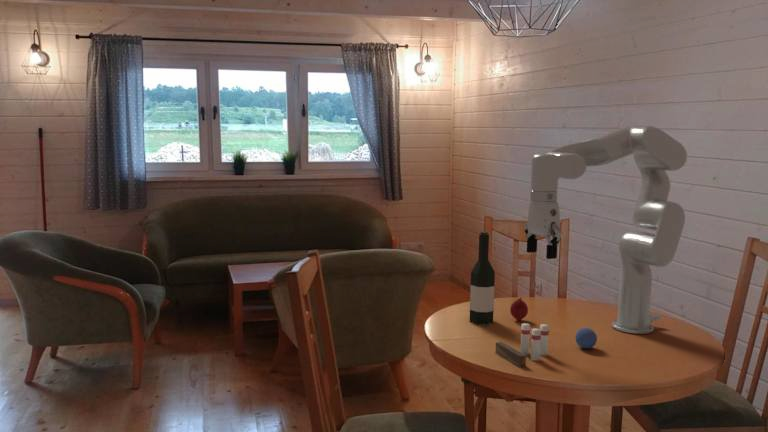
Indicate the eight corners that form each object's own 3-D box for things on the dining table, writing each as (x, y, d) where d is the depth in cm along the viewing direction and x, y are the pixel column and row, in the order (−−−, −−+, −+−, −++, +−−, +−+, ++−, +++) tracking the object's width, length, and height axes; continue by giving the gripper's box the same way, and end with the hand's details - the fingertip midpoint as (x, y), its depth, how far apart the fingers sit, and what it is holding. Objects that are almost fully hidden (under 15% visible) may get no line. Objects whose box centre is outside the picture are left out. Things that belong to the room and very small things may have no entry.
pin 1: (525, 351, 187) (527, 322, 186) (530, 354, 184) (532, 325, 183) (518, 352, 186) (519, 323, 185) (523, 355, 184) (524, 326, 182)
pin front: (544, 352, 186) (545, 323, 185) (549, 355, 184) (550, 326, 183) (536, 353, 185) (538, 324, 184) (542, 356, 183) (543, 327, 182)
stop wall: (501, 351, 186) (501, 341, 186) (525, 366, 175) (526, 355, 175) (495, 352, 186) (495, 342, 185) (519, 367, 175) (519, 356, 174)
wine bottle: (474, 325, 211) (477, 234, 207) (465, 318, 219) (467, 230, 215) (498, 323, 213) (501, 233, 209) (488, 316, 221) (491, 229, 217)
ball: (587, 343, 194) (588, 324, 193) (600, 350, 189) (601, 330, 188) (570, 346, 192) (571, 326, 191) (584, 352, 186) (585, 332, 186)
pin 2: (536, 357, 182) (537, 328, 181) (541, 360, 180) (542, 330, 179) (528, 358, 181) (529, 329, 180) (533, 361, 179) (535, 331, 178)
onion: (527, 323, 213) (528, 300, 212) (509, 322, 214) (510, 299, 213) (527, 318, 219) (528, 295, 218) (510, 317, 220) (510, 294, 219)
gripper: (573, 199, 180) (570, 260, 183) (537, 193, 196) (534, 249, 198) (550, 200, 177) (548, 262, 180) (515, 194, 193) (513, 250, 196)
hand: (541, 255), depth 189 cm, fingers open, 9 cm apart
